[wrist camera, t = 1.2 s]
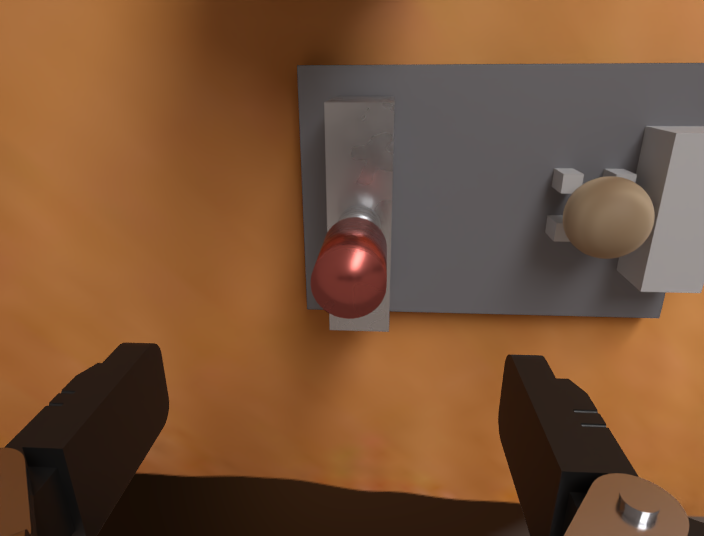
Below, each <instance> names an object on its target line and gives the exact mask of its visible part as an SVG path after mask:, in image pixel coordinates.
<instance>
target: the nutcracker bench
mask: <svg viewBox="0 0 704 536" xmlns="http://www.w3.org/2000/svg"><path fill="white" fill-rule="evenodd" d="M297 76H298V100H299V124H300V147H301V171H302V195H303V219H304V243H305V267H306V290H307V309H318V310H324V309H323V308H322V307H321V306H320V305H319V304H318V303H317V302H316V300H315V298H314V296H313V294H312V290H311V275H312V272H313V269H314V266H315V264H316V261H317V258H318V256H319V253H320V250H321V247H322V245H323V242H324V239H325V237H326V234H327V199H326V158H325V117H324V102H326V101H328V100H330V99H331V98H333V97H335V96H394V102H395V105H394V145H393V185H392V226H391V266H390V306H389V311H397V312H436V313H475V314H515V315H554V316H593V317H632V318H659V317H660V313H661V309H662V305H663V301H664V297H665V293H666V292H679V293H701V291H702V287H703V284H704V63H626V64H454V65H297ZM606 176H615V177H622V178H625V179H628V180H631V181H633V182H635V183H636V184H638V185H639V186H640V187H642V188H643V189H644V190H645V191H646V193H647V194H648V195H649V197H650V199H651V201H652V204H653V207H654V212H655V218H654V225H653V228H652V231H651V233H650V235H649V236H648V238H647V239H646V241H645V242H644V243H643V244H642V245H641V246H640V247H639V248H637V249H636V250H635V251H633V252H631V253H629V254H627V255H625V256H621V257H618V258H612V259H603V258H595V257H592V256H589V255H586V254H584V253H582V252H581V251H580V250H578V249H577V248H576V247H575V246H573V245H572V243H571V242H570V241H569V239H568V238H567V236H566V234H565V231H564V227H563V211H564V208H565V205H566V203H567V201H568V199H569V197H570V196H571V195H572V193H573V192H574V191H575V190H576V189H577V188H578V187H580V186H581V185H583V184H584V183H586V182H588V181H590V180H593V179H596V178H599V177H606Z"/></svg>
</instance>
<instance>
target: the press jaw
mask: <svg viewBox="0 0 704 536" xmlns="http://www.w3.org/2000/svg"><path fill="white" fill-rule="evenodd" d="M394 105H395V102H394V96H335V97H333V98H331V99H330V100H328V101H326V102H324V117H325V158H326V199H327V234H326V237H325V239H324V242H323V245H322V247H321V250H320V253H319V256H318V258H317V261H316V264H315V266H314V269H313V272H312V275H311V290H312V294H313V296H314V298H315V300H316V302H317V303H318V304H319V305H320V306H321V307H322V308H323V309H324V310H325V311H326V312H328V313H329V323H330V330H348V331H384V332H389V306H390V266H391V226H392V185H393V145H394Z"/></svg>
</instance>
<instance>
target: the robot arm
mask: <svg viewBox="0 0 704 536" xmlns="http://www.w3.org/2000/svg"><path fill="white" fill-rule="evenodd" d="M168 411H169V397H168V391H167V385H166V379H165V373H164V367H163V361H162V354H161V350H160V348H159V346H158V345H157V344H154V343H122V344H120V345H119V346H118V347H117V348H116V349H115V350H114V351H113V352H112V353H111V354H110V355H109V357H108V358H107V359H106V360H105V361H104V362H103V363H97V364H95V365H94V366H92V367H90V368H89V369H87V370H85V371H83V372H82V373H80V374H78V375H77V376H75V377H74V378H73V379H72V380H71V381H70V382H69V383H68V384H67V385H66V386H65V387H64V388H63V389H62V392H61V393H58V394H57V395H56V396H55V397H54V398H53V399H52V400H51V401H50V402H49V406H45V407H44V408H43V409H42V410H41V411H40V412H39V413H38V414H37V415H36V416H35V417H34V418H33V419H32V420H31V421H30V422H29V423H28V424H27V425H26V426H25V427H24V428H23V429H22V430H21V431H20V432H19V433H18V434H17V435H16V436H15V437H14V438H13V439H12V440H11V441H10V442H9V443H8V444H7V445H6V446H5V447H4V448H0V536H97V534H98V533H99V531H100V530H101V528H102V526H103V525H104V523H105V521H106V520H107V518H108V517H109V515H110V513H111V512H112V510H113V508H114V507H115V505H116V504H117V502H118V500H119V499H120V497H121V495H122V494H123V492H124V490H125V489H126V487H127V486H128V484H129V482H130V481H131V479H132V478H133V476H134V474H135V473H136V471H137V469H138V468H139V466H140V465H141V463H142V461H143V460H144V458H145V456H146V455H147V453H148V452H149V450H150V448H151V447H152V445H153V443H154V442H155V440H156V439H157V437H158V435H159V434H160V432H161V430H162V429H163V427H164V425H165V423H166V420H167V416H168ZM498 423H499V434H500V439H501V443H502V446H503V449H504V453H505V456H506V459H507V462H508V466H509V469H510V472H511V475H512V478H513V482H514V485H515V488H516V491H517V495H518V498H519V501H520V504H521V507H522V511H523V514H524V517H525V520H526V524H527V526H528V530H529V533H530V536H704V523H702V522H699V521H696V520H693V519H690V518H688V516H687V514H686V512H685V510H684V509H683V507H682V506H681V505H680V503H679V502H678V501H677V500H676V499H675V498H674V497H673V496H672V495H671V494H669V493H668V492H667V491H665V490H664V489H663V488H661V487H659V486H658V485H656V484H654V483H652V482H650V481H648V480H645V479H643V478H640V477H638V475H637V473H636V472H635V470H634V468H633V467H632V465H631V464H630V462H629V460H628V459H627V457H626V456H625V454H624V452H623V451H622V449H621V447H620V446H619V444H618V443H617V441H616V439H615V438H614V436H613V435H612V433H611V431H610V430H609V428H606V423H605V422H604V420H603V418H602V417H601V415H600V414H598V413H597V409H596V407H595V405H594V404H593V402H592V401H591V399H590V397H589V396H588V394H587V393H586V392H585V391H583V390H582V389H581V388H579V387H578V386H577V385H576V384H574V383H573V382H572V381H571V380H569V379H556V378H555V376H554V374H553V372H552V370H551V368H550V367H549V365H548V363H547V361H546V359H545V358H544V357H543V356H538V355H508V356H507V357H506V361H505V366H504V374H503V382H502V390H501V398H500V406H499V416H498Z"/></svg>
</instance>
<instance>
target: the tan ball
mask: <svg viewBox="0 0 704 536" xmlns="http://www.w3.org/2000/svg"><path fill="white" fill-rule="evenodd" d="M654 218H655V212H654V207H653V204H652V201H651V199H650V197H649V195H648V194H647V193H646V191H645V190H644V189H643V188H642V187H640V186H639V185H638V184H636V183H635V182H633V181H631V180H628V179H625V178H622V177H615V176H606V177H599V178H596V179H593V180H590V181H588V182H586V183H584V184H583V185H581V186H580V187H578V188H577V189H576V190H575V191H574V192H573V193H572V195H571V196H570V197H569V199H568V201H567V203H566V205H565V208H564V211H563V227H564V231H565V234H566V236H567V238H568V239H569V241H570V242H571V243H572V245H573V246H575V247H576V248H577V249H578V250H580V251H581V252H582V253H584V254H586V255H589V256H592V257H595V258H603V259H612V258H618V257H621V256H625V255H627V254H629V253H631V252H633V251H635V250H636V249H637V248H639V247H640V246H641V245H642V244H643V243H644V242H645V241H646V239H647V238H648V236H649V235H650V233H651V231H652V228H653V225H654Z"/></svg>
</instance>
